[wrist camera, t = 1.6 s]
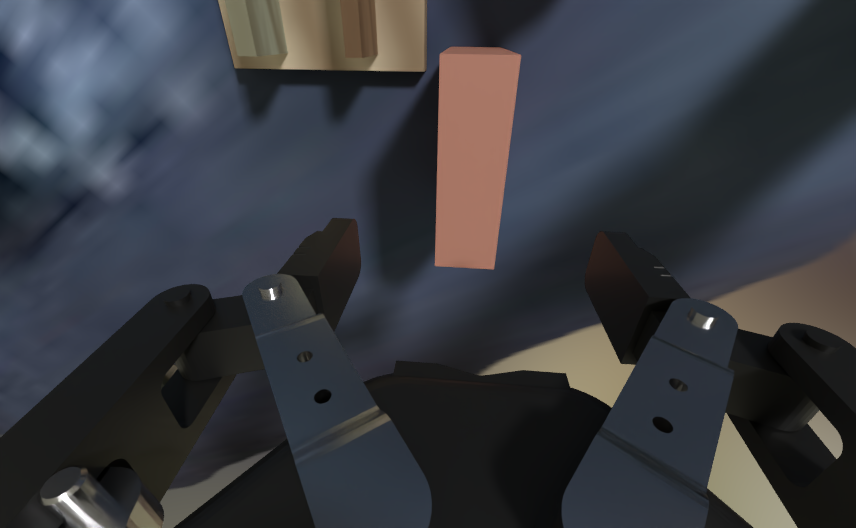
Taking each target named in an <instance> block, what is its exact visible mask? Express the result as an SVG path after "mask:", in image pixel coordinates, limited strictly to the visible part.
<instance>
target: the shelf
mask: <svg viewBox="0 0 856 528" xmlns="http://www.w3.org/2000/svg"><path fill="white" fill-rule="evenodd" d="M218 2H219V6H220V10H221V14H222V18H223V22H224V26H225V30H226V34H227V38H228V42H229V47H230V51H231V55H232V59H233V63H234V67H235V68H248V69H303V70H358V71H413V72H425V71H426V65H427V0H218Z"/></svg>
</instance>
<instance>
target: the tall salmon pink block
mask: <svg viewBox="0 0 856 528" xmlns="http://www.w3.org/2000/svg"><path fill="white" fill-rule="evenodd" d="M520 60H521V55H520V54H517V53H514V52H512V51H509V50H506V49H504V48H501V47H450V48H448V49H447V50H445V51H444V52H442V53H440V69H439V112H438V156H437V200H436V244H435V266H444V267H462V268H479V269H494V265H495V257H496V249H497V241H498V233H499V225H500V218H501V210H502V202H503V194H504V186H505V178H506V170H507V163H508V155H509V147H510V139H511V131H512V123H513V115H514V108H515V100H516V92H517V84H518V76H519V68H520Z"/></svg>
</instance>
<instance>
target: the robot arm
mask: <svg viewBox="0 0 856 528" xmlns="http://www.w3.org/2000/svg"><path fill="white" fill-rule="evenodd" d="M360 269H361V256H360V246H359V236H358V227H357V222H356V220H355V219H343V218H332V219H331V221H330V222H329V224H328V225H327V226H326V228H325V229H324V230H323V231H317V232H315V233H313V234H312V235H310V236H308V237H306V238H305V239H304V241H303V242H302V243H301V244H300V246H299V248H297V249H296V251H295V252H294V255H292V256H291V257H290V258H289V259H288V261H287V262H286V263H285V264H284V266H283V267H282V268H281V270H280V271H279V272H278V273H277V274H272V275H267V276H263V277H260V278H258V279H256V280H254V281H252V282H251V283H249V284H248V285H247V286H246V287H245V288H244V290H243V293H242V295H240V296H234V297H227V298H219V299H212V297H211V294H210V291H209V289H208V288H207V287H205V286H203V285H198V284H188V285H182V286H177V287H174V288H171V289H168V290H166V291H164V292H162V293H160V294H158V295H157V296H155V297H154V298H153V299H152V300H150V301H149V302H148V303H147V304H146V305H145V306H144V307H143V308H142V309H141V310H140V311H138V312H137V313H136V314H135V315H134V316H133V317H132V318H131V319H130V320H129V321H127V322H126V323H125V324H124V325H123V326H122V327H121V328H120V329H119V330H118V331H117V332H115V333H114V334H113V335H112V336H111V337H110V338H109V339H108V340H107V341H106V342H105V343H103V344H102V345H101V346H100V347H99V348H98V349H97V350H96V351H95V352H94V353H92V354H91V355H90V356H89V357H88V358H87V359H86V360H85V361H84V362H83V363H82V364H80V365H79V366H78V367H77V368H76V369H75V370H74V371H73V372H72V373H71V374H70V375H68V376H67V377H66V378H65V379H64V380H63V381H62V382H61V383H60V384H59V385H57V386H56V387H55V388H54V389H53V390H52V391H51V392H50V393H49V394H48V395H47V396H45V397H44V398H43V399H42V400H41V401H40V402H39V403H38V404H37V405H36V406H35V407H33V408H32V409H31V410H30V411H29V412H28V413H27V414H26V415H25V416H24V417H22V418H21V419H20V420H19V421H18V422H17V423H16V424H15V425H14V426H13V427H12V428H10V429H9V430H8V431H7V432H6V433H5V434H4V435H3V436H2V437H1V438H0V528H162V525H163V521H164V511H163V508H162V505H161V504H160V501H161V500H162V498H163V496H164V495H165V493H166V491H167V490H168V488H169V486H170V485H171V483H172V481H173V480H174V478H175V476H176V475H177V473H178V471H179V470H180V468H181V466H182V465H183V463H184V461H185V460H186V458H187V456H188V455H189V453H190V451H191V450H192V448H193V446H194V445H195V443H196V441H197V440H198V438H199V436H200V435H201V433H202V431H203V430H204V428H205V426H206V425H207V423H208V421H209V420H210V418H211V416H212V415H213V413H214V411H215V410H216V408H217V406H218V405H219V403H220V401H221V400H222V398H223V396H224V395H225V393H226V391H227V390H228V388H229V386H230V385H231V383H232V381H233V380H234V378H235V376H236V374H239V373H245V372H250V371H256V370H261V369H265V370H266V373H267V376H268V379H269V382H270V385H271V389H272V392H273V395H274V398H275V401H276V404H277V407H278V411H279V414H280V417H281V420H282V423H283V426H284V429H285V433H286V436H287V439H286V440H285V441H284V442H282V443H281V444H280V445H279V446H277V447H276V448H275V449H273V450H272V451H271V452H270V453H268V454H267V455H266V456H265V457H263V458H262V459H261V460H259V461H258V462H257V463H256V464H254V465H253V466H252V467H250V468H249V469H248V470H247V471H245V472H244V473H243V474H242V475H241V476H239V477H238V478H236V479H235V480H234V481H233V482H231V483H230V484H229V485H227V486H226V487H225V488H224V489H222V490H221V491H220V492H219V493H217V494H216V495H215V496H214V497H212V498H211V499H210V500H208V501H207V502H206V503H204V504H203V505H202V506H201V507H199V508H198V509H197V510H196V511H194V512H193V513H192V514H190V515H189V516H188V517H187V518H185V519H184V520H183V521H181V522H180V523H179V524H178V525H176V526H175V527H174V528H753V527H752V526H751V525H750V524H749V523H747V522H746V521H745V520H744V519H743V518H742V517H740V516H739V515H738V514H737V513H736V512H734V511H733V510H732V509H731V508H730V507H728V506H727V505H726V504H725V503H724V502H723V501H722V500H720V499H719V498H718V497H717V496H716V495H714V494H713V493H712V492H711V491H710V490H709V489H707V485H708V481H709V477H710V472H711V468H712V464H713V460H714V456H715V452H716V447H717V444H718V439H719V435H720V431H721V427H722V422H723V419H724V415H725V413H727V414H728V416H729V418H730V419H731V421H732V423H733V424H734V426H735V427H736V429H737V431H738V432H739V434H740V435H741V437H742V439H743V440H744V442H745V444H746V445H747V447H748V448H749V450H750V452H751V453H752V455H753V456H754V458H755V460H756V461H757V463H758V465H759V466H760V468H761V469H762V471H763V473H764V474H765V476H766V477H767V479H768V480H769V482H770V484H771V485H772V487H773V489H774V490H775V492H776V493H777V495H778V497H779V498H780V500H781V501H782V503H783V505H784V506H785V508H786V509H787V511H788V513H789V514H790V516H791V518H792V519H793V521H794V522H795V524H796V526H797V527H798V528H856V348H855V347H853V346H852V345H851V344H850V343H848V342H847V341H845V340H843V339H841V338H840V337H838V336H836V335H834V334H832V333H830V332H828V331H825V330H822V329H820V328H817V327H814V326H810V325H806V324H800V323H786V324H783V325H781V327H780V328H779V329H778V331H777V332H776V334H775V335H774V337H769V336H765V335H761V334H757V333H753V332H749V331H745V330H741V329H738V324H737V322H736V320H735V319H734V318H733V317H732V316H731V315H730V314H728V313H727V312H726V311H724V310H723V309H721V308H719V307H717V306H715V305H713V304H710V303H708V302H705V301H701V300H697V299H691V298H690V297H689V295H688V294H687V293H686V292H685V291H684V290H683V288H682V287H681V286H680V285H679V284H678V283H677V282H676V280H675V279H674V278H673V277H671V275H670V273H669V272H668V271H667V270H666V269H664V266H663V265H662V264H661V263H660V262H659V261H658V259H657V258H656V257H655V256H653V255H651V254H650V253H648V252H647V251H645V250H643V249H642V248H638V247H637V246H636V244H635V243H634V242H633V241H632V239H631V238H630V237H629V236H628V234H627V233H623V232H603V231H601V232H599V233H598V234H597V236H596V239H595V242H594V246H593V249H592V252H591V256H590V259H589V263H588V266H587V270H586V274H585V288H586V291H587V293H588V295H589V297H590V299H591V301H592V304H593V306H594V308H595V310H596V312H597V314H598V316H599V318H600V320H601V323H602V325H603V327H604V329H605V331H606V333H607V335H608V337H609V339H610V342H611V344H612V346H613V348H614V350H615V352H616V354H617V356H618V359H619V361H620V363H621V364H634V365H636V366H635V368H634V369H633V371H632V373H631V375H630V377H629V378H628V380H627V382H626V384H625V386H624V387H623V389H622V391H621V393H620V395H619V396H618V398H617V400H616V402H615V404H614V405H613V407H612V408H611V407H610V406H608V405H607V404H605V403H604V402H602V401H600V400H598V399H597V398H595V397H593V396H591V395H589V394H587V393H584V392H582V391H579V390H577V389H574V388H570V386H569V382H568V379H567V376H566V373H552V372H539V371H526V370H522V371H515V372H507V373H499V374H493V375H485V376H479V375H474V374H471V373H467V372H464V371H460V370H457V369H453V368H450V367H446V366H443V365H439V364H433V363H420V362H407V361H396V364H395V369H394V373H393V374H387V375H383V376H379V377H376V378H373V379H370V380H367V381H365V382H363V381H362V379H361V378H360V376H359V374H358V372H357V371H356V369H355V367H354V366H353V364H352V362H351V361H350V359H349V357H348V355H347V354H346V352H345V350H344V349H343V347H342V345H341V343H340V342H339V340H338V338H337V337H336V335H335V333H334V331H335V329H336V326H337V324H338V322H339V320H340V317H341V315H342V313H343V311H344V308H345V306H346V304H347V302H348V299H349V297H350V295H351V293H352V291H353V288H354V286H355V284H356V282H357V279H358V277H359V274H360ZM174 363H175V364H176V366H177V368H178V369H177V370H176V371H175V373H174V374H173V375H172V376H171V378H170V379H169V380H168V382H167V383H166V384H165V385H164V387H163V388H162V389H161V385H162V381H163V378H164V376H165V375H166V373H167V372H168V371H169V369H170V368H171V367H172V366H173V364H174ZM819 410H820V411H821V412H822V413H823V415H824V416H825V417H826V418H827V419H828V420H829V421H830V423H831V424H832V425H833V426H834V427H835V428H836V430H837V431H838V432H839V434H840V436H841V439H842V442H843V451H842V454H841V456H840V457H839V458H838V459H836V458H835V457H834V456H833V454H832V453H831V452H830V451H829V449H828V448H827V447H826V446H825V445H824V444H823V442H822V441H821V440H820V438H819V437H818V436H817V435H816V434H815V432H814V431H813V430H812V429H811V427H810V426H809V425H808V424H807V423H808V422H809V421H810V420H811V419H812V418H813V417H814V415H815V414H816V413H817V412H818V411H819Z"/></svg>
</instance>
